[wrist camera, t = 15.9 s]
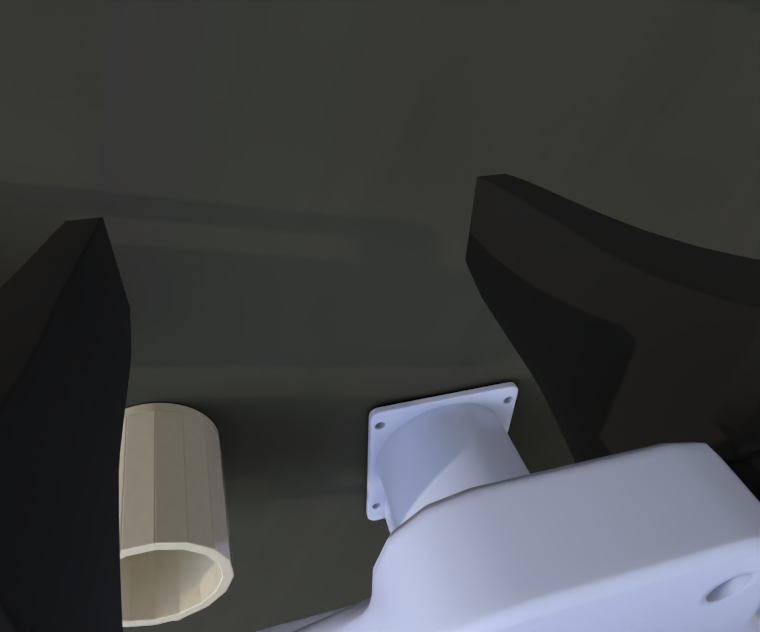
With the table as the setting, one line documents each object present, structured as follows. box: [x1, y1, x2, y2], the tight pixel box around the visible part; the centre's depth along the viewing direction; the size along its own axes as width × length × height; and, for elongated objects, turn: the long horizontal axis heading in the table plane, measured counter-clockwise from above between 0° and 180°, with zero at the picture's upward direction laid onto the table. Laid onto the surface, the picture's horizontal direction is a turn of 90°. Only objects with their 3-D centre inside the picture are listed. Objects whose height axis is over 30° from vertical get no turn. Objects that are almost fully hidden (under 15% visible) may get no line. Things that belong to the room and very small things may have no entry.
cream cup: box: [119, 403, 234, 627], centre depth 26 cm, size 8×6×7 cm
